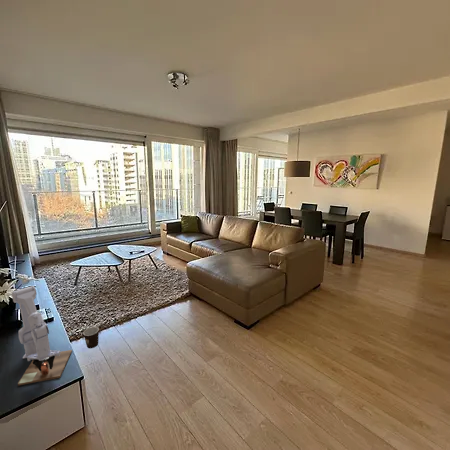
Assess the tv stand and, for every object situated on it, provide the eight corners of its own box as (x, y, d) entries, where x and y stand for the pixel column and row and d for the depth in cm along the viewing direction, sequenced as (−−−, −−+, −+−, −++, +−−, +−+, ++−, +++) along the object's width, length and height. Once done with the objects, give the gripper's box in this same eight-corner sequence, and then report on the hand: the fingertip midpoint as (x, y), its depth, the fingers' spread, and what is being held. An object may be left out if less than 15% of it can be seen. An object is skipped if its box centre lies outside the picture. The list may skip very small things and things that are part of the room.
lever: (35, 362, 138) (34, 355, 137) (50, 356, 143) (49, 348, 142) (41, 376, 130) (40, 368, 128) (56, 368, 135) (55, 360, 133)
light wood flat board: (35, 357, 144) (34, 350, 143) (72, 351, 149) (71, 344, 148) (17, 385, 125) (16, 378, 124) (60, 378, 130) (58, 370, 129)
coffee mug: (102, 345, 155) (100, 331, 153) (87, 351, 149) (85, 337, 147) (96, 336, 163) (94, 323, 161) (81, 342, 157) (80, 328, 155)
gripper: (22, 354, 123) (27, 377, 126) (55, 349, 127) (59, 371, 130) (29, 345, 130) (33, 367, 133) (60, 340, 134) (63, 361, 137)
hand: (46, 368), depth 132 cm, fingers open, 4 cm apart
